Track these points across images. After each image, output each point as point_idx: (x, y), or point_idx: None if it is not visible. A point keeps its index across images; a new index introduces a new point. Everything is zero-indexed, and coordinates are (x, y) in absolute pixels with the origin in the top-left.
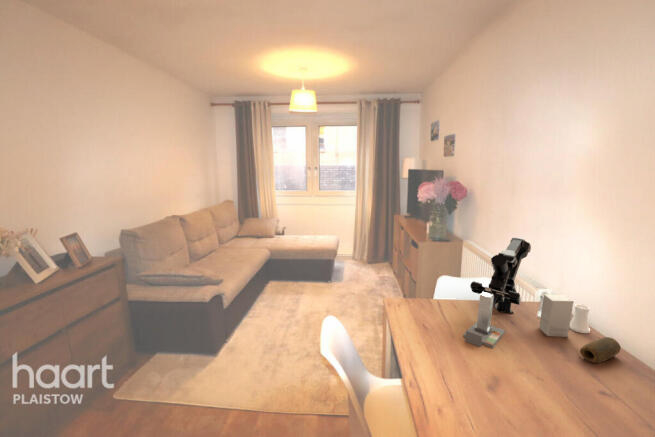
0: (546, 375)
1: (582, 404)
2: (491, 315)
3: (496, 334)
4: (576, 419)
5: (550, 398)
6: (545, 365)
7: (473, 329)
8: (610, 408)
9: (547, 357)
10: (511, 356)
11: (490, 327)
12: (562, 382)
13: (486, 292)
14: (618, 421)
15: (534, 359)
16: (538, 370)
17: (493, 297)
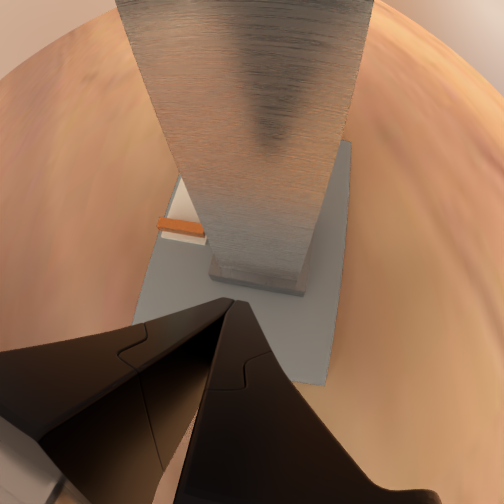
0: (65, 99)
1: (46, 66)
2: (200, 219)
3: (180, 237)
4: (80, 33)
5: (97, 42)
6: (44, 144)
7: (321, 226)
8: (8, 91)
9: (17, 199)
10: (136, 120)
11: (216, 268)
12: (42, 100)
13: (340, 473)
14: (19, 71)
15: (61, 155)
16: (75, 105)
17: (132, 19)
